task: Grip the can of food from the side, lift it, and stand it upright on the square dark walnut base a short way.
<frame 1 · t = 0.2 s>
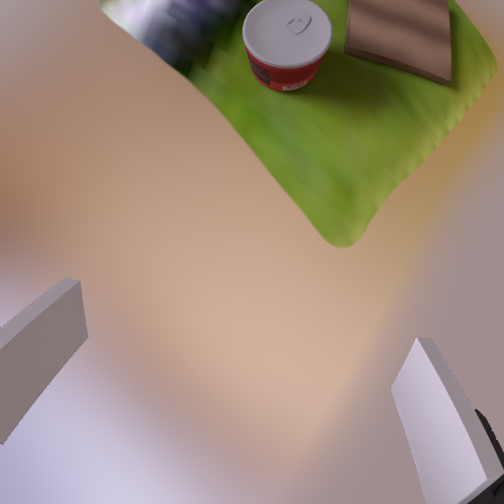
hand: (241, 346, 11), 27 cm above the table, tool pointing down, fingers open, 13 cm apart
walnut base: (397, 24, 27), on the table
canned food: (284, 64, 31), on the table
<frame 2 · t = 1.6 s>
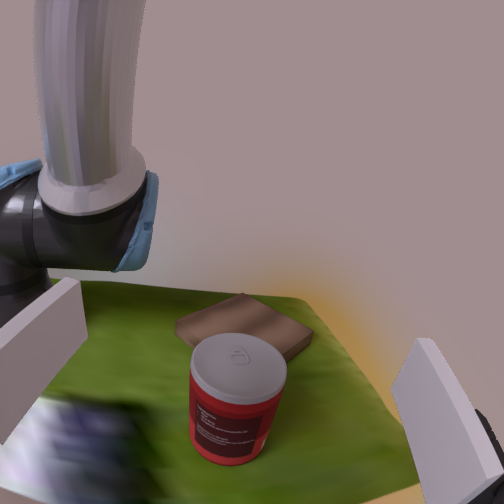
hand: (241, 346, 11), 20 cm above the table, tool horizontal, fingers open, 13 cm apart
walnut base: (244, 340, 43), on the table
canned food: (226, 438, 27), on the table
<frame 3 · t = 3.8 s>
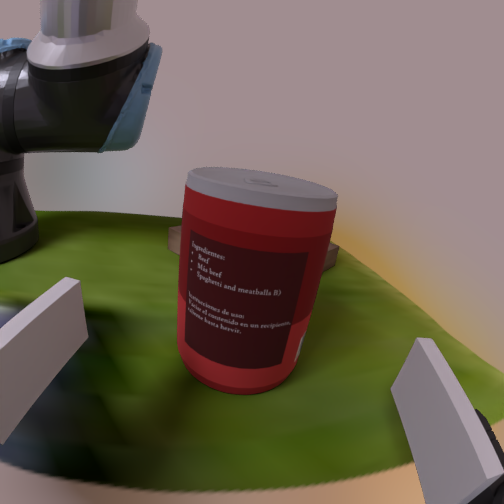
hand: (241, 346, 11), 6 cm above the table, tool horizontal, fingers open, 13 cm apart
walnut base: (254, 257, 35), on the table
canned food: (236, 356, 19), on the table
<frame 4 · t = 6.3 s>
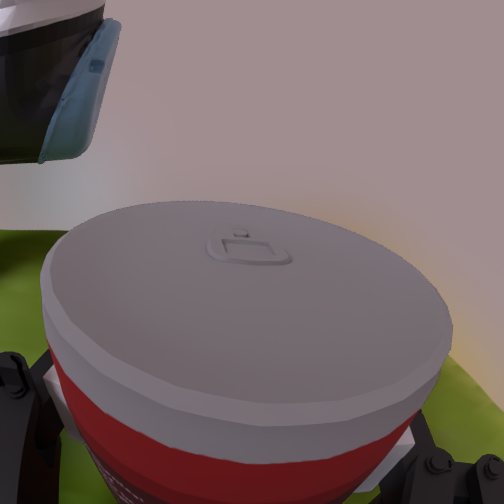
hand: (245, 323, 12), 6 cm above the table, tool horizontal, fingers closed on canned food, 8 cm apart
canned food: (215, 495, 10), on the table, touching gripper
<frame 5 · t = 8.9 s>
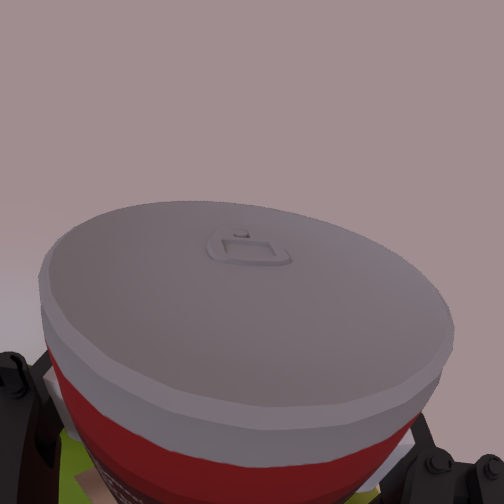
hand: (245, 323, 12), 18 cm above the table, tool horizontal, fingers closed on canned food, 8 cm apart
canned food: (215, 496, 10), point 12 cm above the table, touching gripper
when the fingers open (10 cm above the table, at t = 11.5 s): canned food drops 1 cm, resting on walnut base.
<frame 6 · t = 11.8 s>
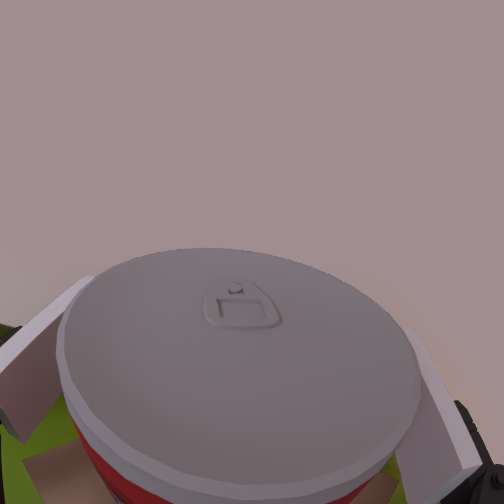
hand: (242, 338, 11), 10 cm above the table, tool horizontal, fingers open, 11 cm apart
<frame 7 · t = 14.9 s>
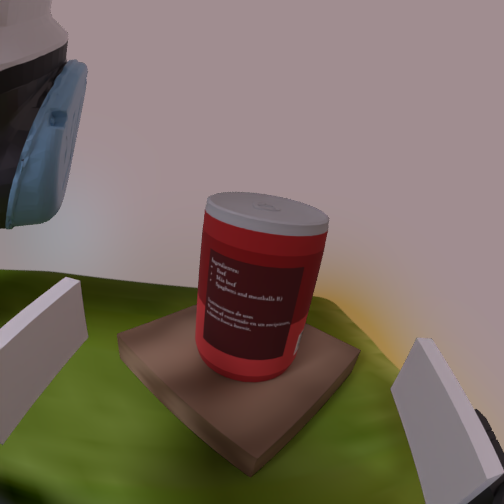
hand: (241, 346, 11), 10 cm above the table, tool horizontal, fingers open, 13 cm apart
walnut base: (240, 371, 23), on the table
canned food: (244, 351, 22), point 2 cm above the table, touching walnut base
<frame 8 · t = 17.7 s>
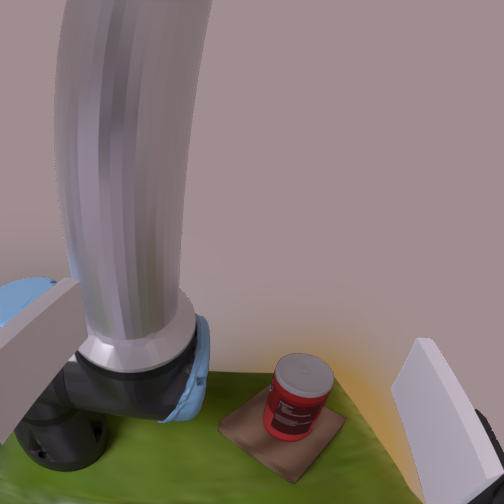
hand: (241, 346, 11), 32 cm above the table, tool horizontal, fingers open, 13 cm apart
walnut base: (283, 431, 41), on the table
canned food: (286, 423, 40), point 2 cm above the table, touching walnut base
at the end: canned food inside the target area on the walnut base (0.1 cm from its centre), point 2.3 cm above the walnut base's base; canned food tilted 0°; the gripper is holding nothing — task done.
